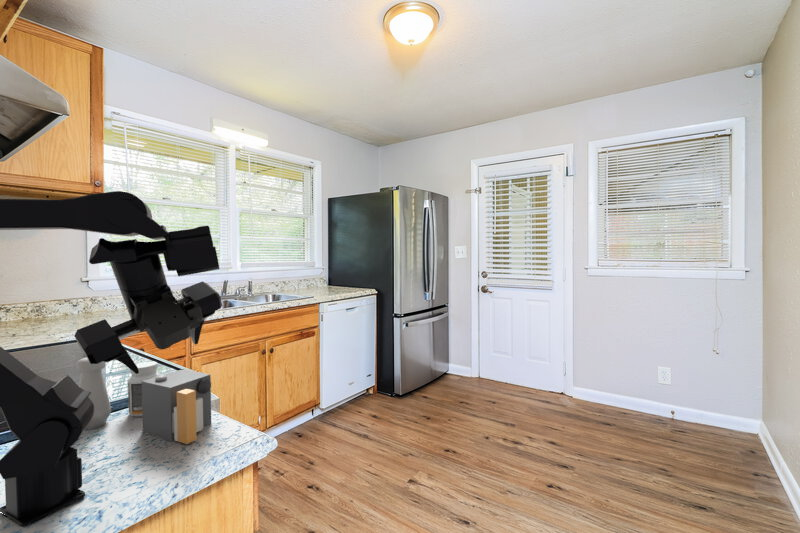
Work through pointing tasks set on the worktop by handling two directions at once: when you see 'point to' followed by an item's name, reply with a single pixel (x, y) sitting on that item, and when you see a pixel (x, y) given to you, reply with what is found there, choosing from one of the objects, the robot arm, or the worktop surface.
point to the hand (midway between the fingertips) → (167, 356)
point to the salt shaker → (95, 390)
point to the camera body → (171, 400)
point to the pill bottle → (139, 386)
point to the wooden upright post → (187, 416)
